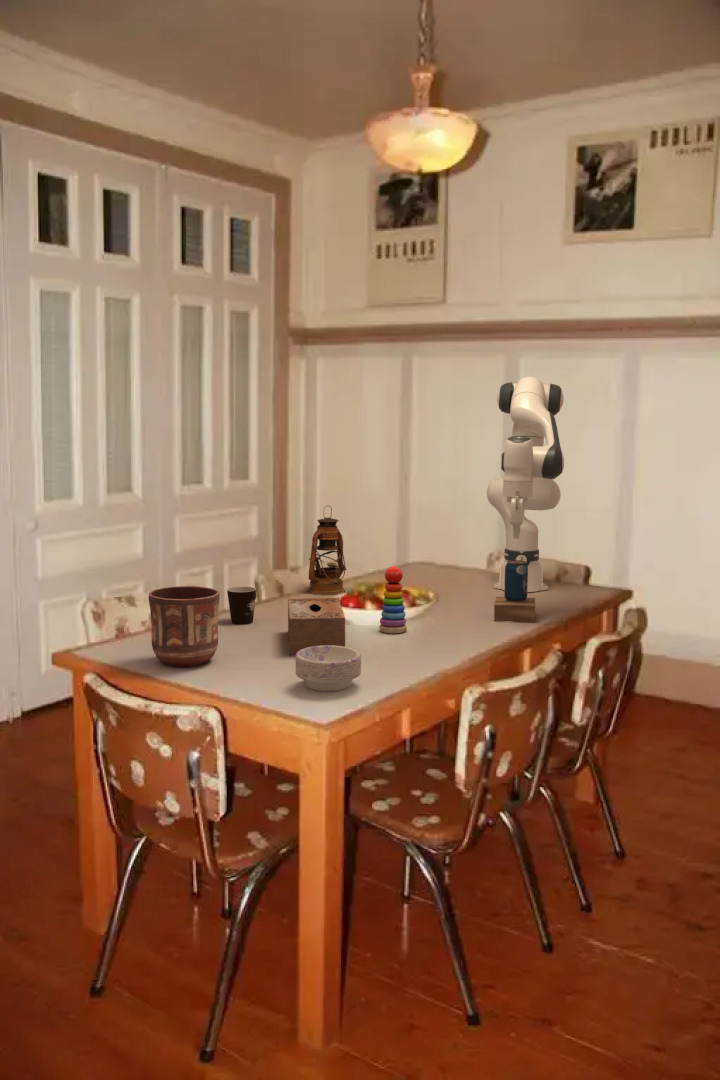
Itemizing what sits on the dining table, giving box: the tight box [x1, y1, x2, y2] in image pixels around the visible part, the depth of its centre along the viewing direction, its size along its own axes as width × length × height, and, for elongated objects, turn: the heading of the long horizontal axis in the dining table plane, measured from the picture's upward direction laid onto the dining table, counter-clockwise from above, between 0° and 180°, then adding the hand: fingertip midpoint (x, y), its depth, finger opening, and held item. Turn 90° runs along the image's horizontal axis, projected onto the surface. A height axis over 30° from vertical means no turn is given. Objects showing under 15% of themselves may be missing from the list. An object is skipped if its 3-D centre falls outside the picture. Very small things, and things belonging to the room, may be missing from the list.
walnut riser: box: [493, 596, 536, 624], centre depth 298 cm, size 12×12×5 cm
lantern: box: [307, 505, 347, 596], centre depth 336 cm, size 17×13×30 cm
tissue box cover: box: [287, 597, 346, 657], centre depth 267 cm, size 26×14×10 cm, turn 5°
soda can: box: [503, 560, 528, 602], centre depth 298 cm, size 7×7×12 cm
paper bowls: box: [294, 645, 362, 692], centre depth 227 cm, size 15×15×8 cm
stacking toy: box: [378, 566, 408, 635], centre depth 279 cm, size 8×8×19 cm
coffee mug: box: [226, 586, 257, 626], centre depth 292 cm, size 12×9×10 cm
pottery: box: [148, 585, 220, 668], centre depth 247 cm, size 18×18×18 cm
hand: (516, 536), depth 294 cm, fingers open, 8 cm apart
